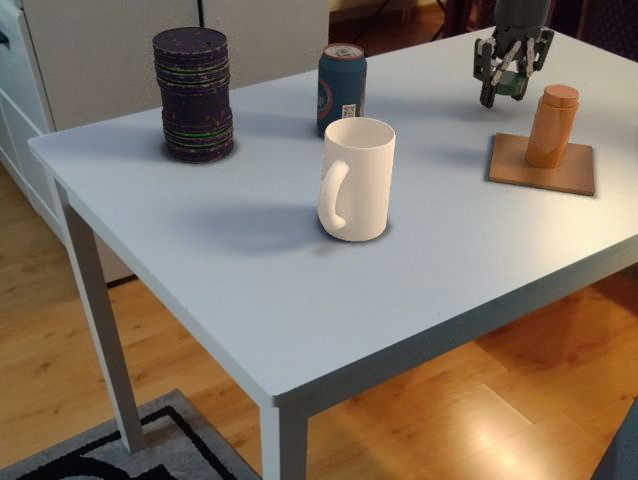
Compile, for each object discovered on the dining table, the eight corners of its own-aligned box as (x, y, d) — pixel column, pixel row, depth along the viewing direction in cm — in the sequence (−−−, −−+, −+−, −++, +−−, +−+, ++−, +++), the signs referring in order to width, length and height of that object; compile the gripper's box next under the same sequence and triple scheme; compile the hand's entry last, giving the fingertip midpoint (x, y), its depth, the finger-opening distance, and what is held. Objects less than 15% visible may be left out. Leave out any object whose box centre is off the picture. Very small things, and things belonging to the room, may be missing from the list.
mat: (590, 149, 101) (592, 145, 101) (593, 196, 91) (595, 192, 91) (495, 136, 103) (496, 132, 103) (488, 180, 94) (489, 176, 93)
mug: (290, 243, 81) (289, 149, 73) (340, 199, 89) (345, 110, 80) (350, 266, 78) (356, 171, 70) (397, 218, 86) (407, 128, 77)
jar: (561, 154, 98) (581, 86, 92) (561, 170, 95) (582, 101, 88) (525, 148, 99) (542, 81, 93) (523, 165, 96) (541, 96, 89)
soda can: (310, 124, 105) (312, 43, 96) (353, 119, 106) (358, 39, 98) (324, 144, 100) (327, 61, 92) (369, 139, 102) (375, 56, 93)
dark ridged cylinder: (151, 153, 96) (135, 44, 86) (190, 126, 103) (179, 21, 93) (211, 169, 94) (201, 58, 83) (247, 140, 100) (242, 34, 90)
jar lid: (478, 84, 107) (480, 73, 106) (506, 77, 109) (508, 67, 108) (501, 98, 103) (504, 87, 102) (530, 91, 106) (533, 81, 104)
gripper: (506, 0, 91) (481, 121, 103) (582, -13, 97) (551, 103, 108) (470, -15, 96) (450, 102, 107) (545, -27, 101) (519, 86, 113)
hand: (501, 102), depth 108 cm, fingers closed on jar lid, 5 cm apart
